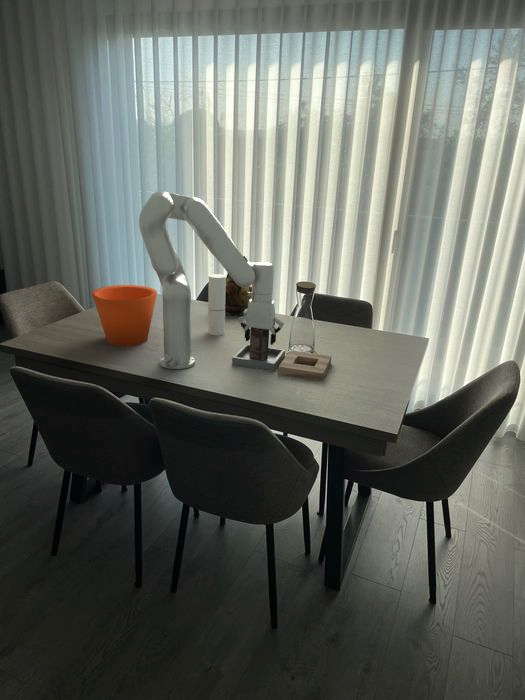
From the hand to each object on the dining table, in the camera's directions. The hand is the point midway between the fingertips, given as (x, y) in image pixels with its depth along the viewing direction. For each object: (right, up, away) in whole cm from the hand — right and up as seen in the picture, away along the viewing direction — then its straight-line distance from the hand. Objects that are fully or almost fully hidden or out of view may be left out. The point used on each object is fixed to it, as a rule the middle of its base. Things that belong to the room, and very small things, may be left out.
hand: (260, 341), depth 191 cm
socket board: (+17, -10, -3) cm, 20 cm away
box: (-1, -6, +2) cm, 7 cm away
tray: (0, -7, +3) cm, 8 cm away
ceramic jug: (-14, +15, +63) cm, 66 cm away
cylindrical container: (-19, +4, +32) cm, 38 cm away
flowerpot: (-54, +1, +19) cm, 58 cm away
